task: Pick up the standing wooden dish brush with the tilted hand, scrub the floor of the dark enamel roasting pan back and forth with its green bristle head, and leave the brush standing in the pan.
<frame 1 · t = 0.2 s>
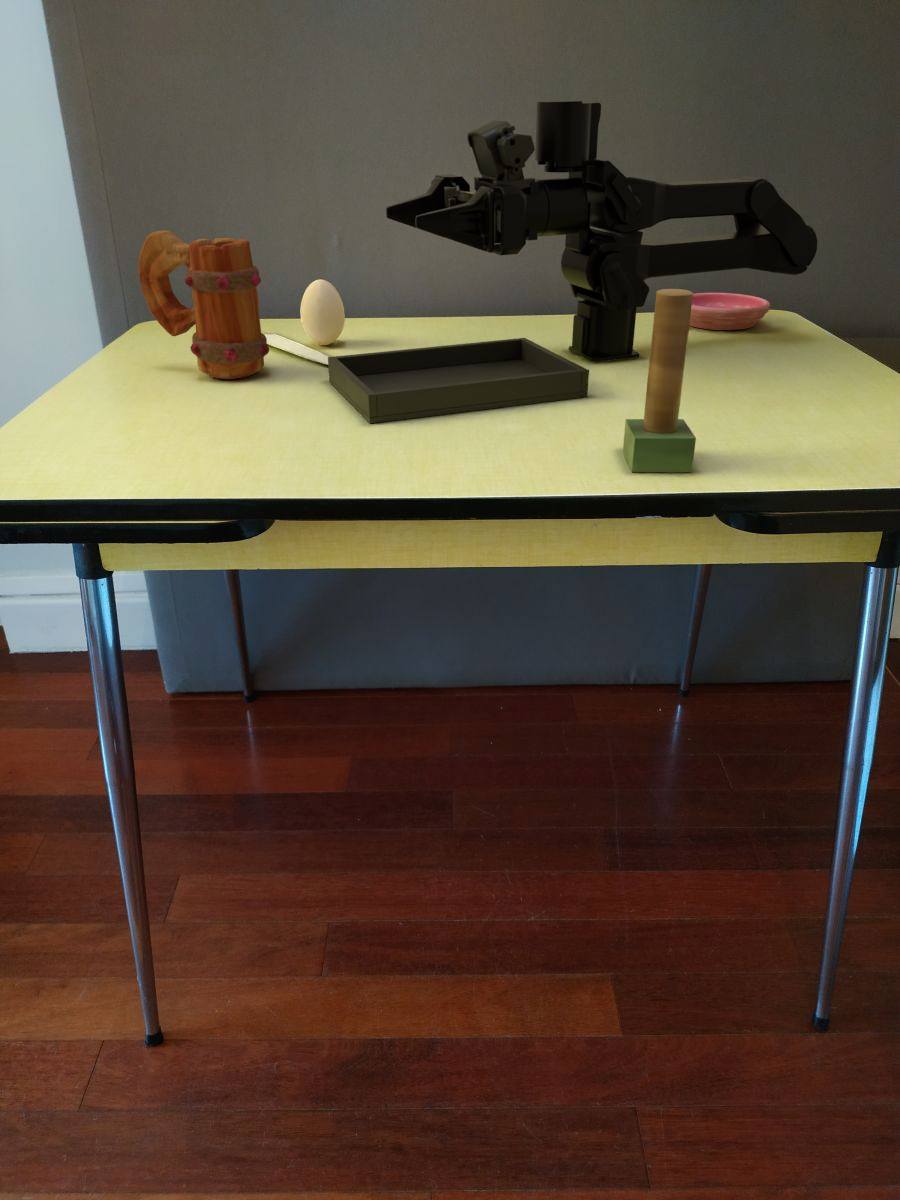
hand: (400, 217, 94), 17 cm above the table, tool horizontal, fingers open, 9 cm apart
pan: (454, 389, 97), on the table
mug: (214, 373, 104), on the table
egg: (324, 346, 115), on the table
knife: (272, 344, 116), on the table
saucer: (718, 325, 124), on the table
dish brush: (656, 462, 78), on the table
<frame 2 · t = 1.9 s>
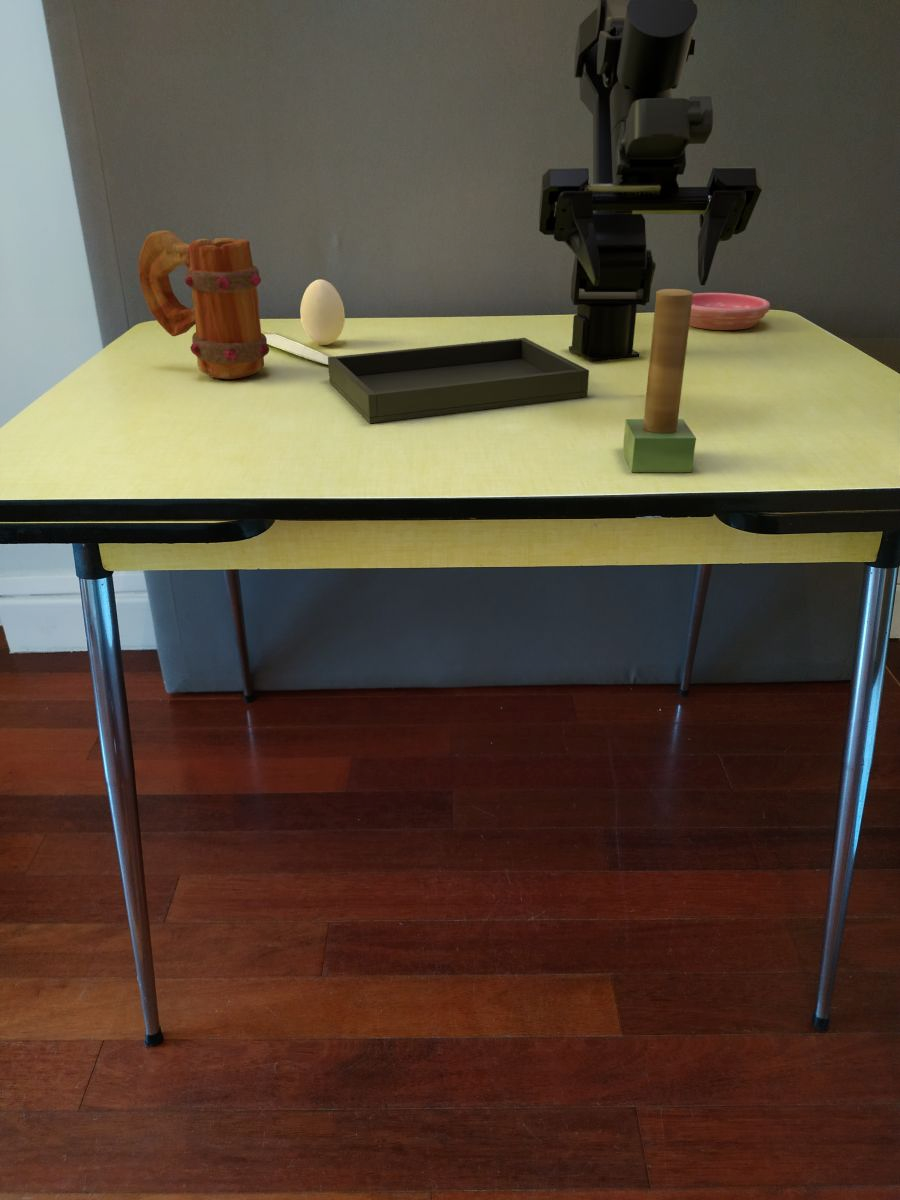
hand: (650, 282, 78), 13 cm above the table, tool tilted 45°, fingers open, 9 cm apart
nothing on the table moved.
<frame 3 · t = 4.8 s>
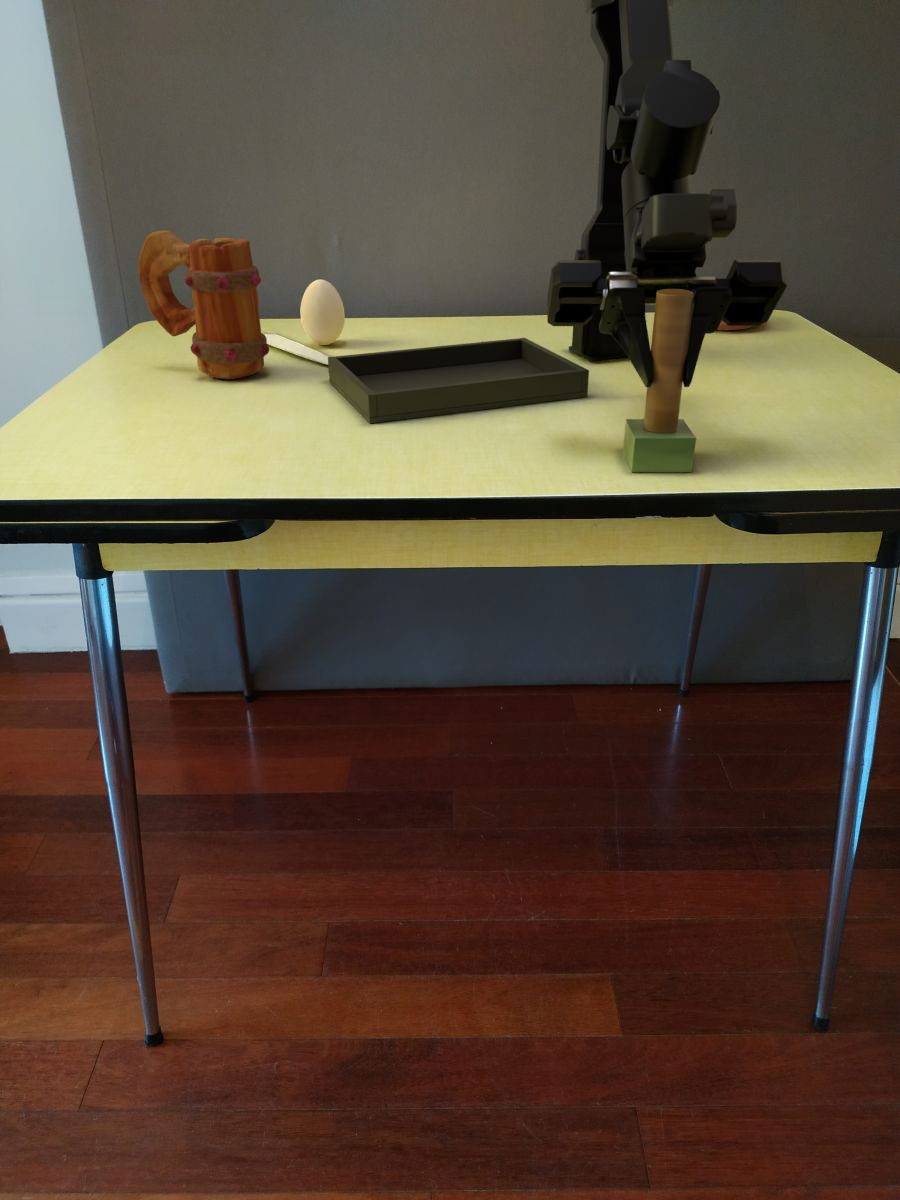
hand: (668, 384, 73), 7 cm above the table, tool tilted 45°, fingers closed on dish brush, 3 cm apart
dish brush: (656, 461, 78), on the table, touching gripper
everything else where it was.
when the fingers open (8 cm above the table, at t = 17.1 s): dish brush stays where it is, resting on pan.
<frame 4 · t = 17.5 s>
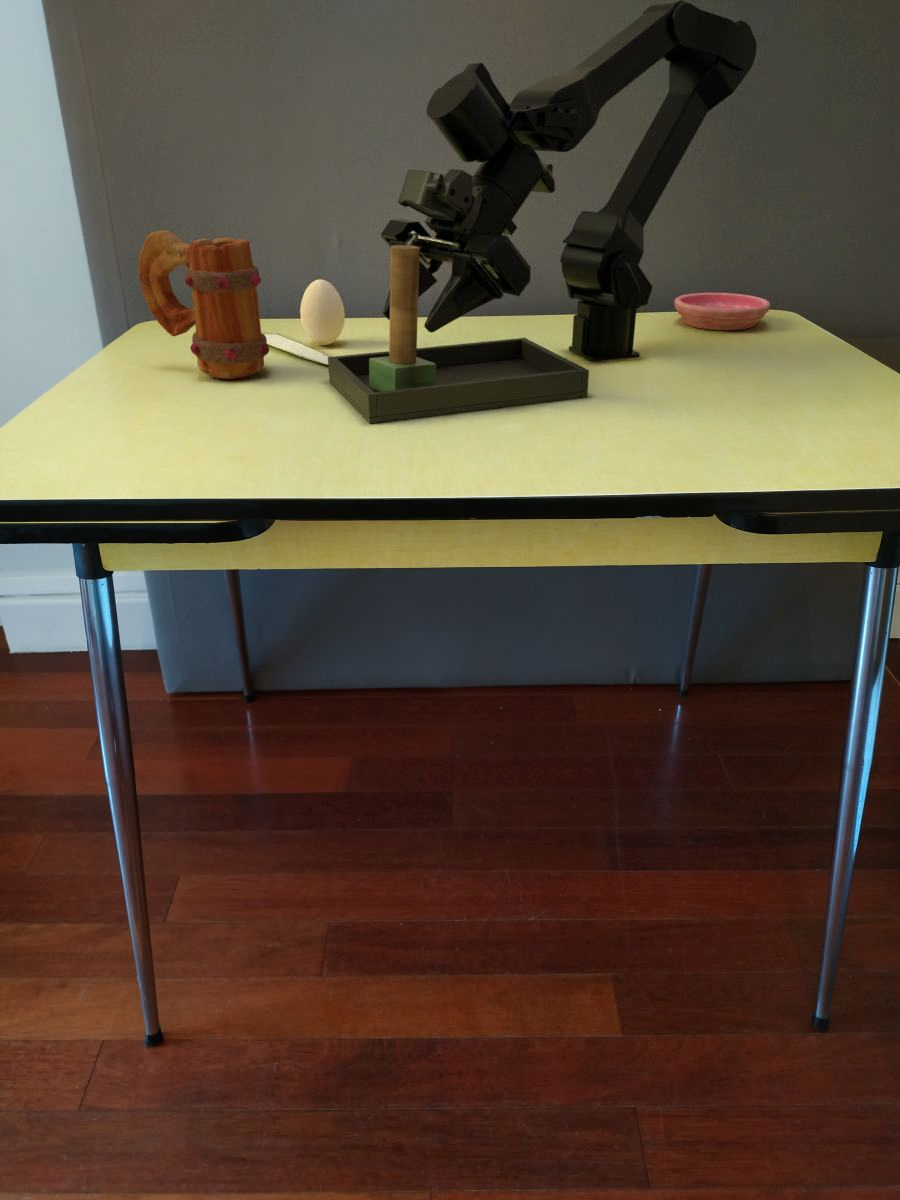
hand: (406, 323, 92), 7 cm above the table, tool tilted 45°, fingers open, 7 cm apart
dish brush: (402, 390, 95), point 1 cm above the table, touching pan
everything else where it was.
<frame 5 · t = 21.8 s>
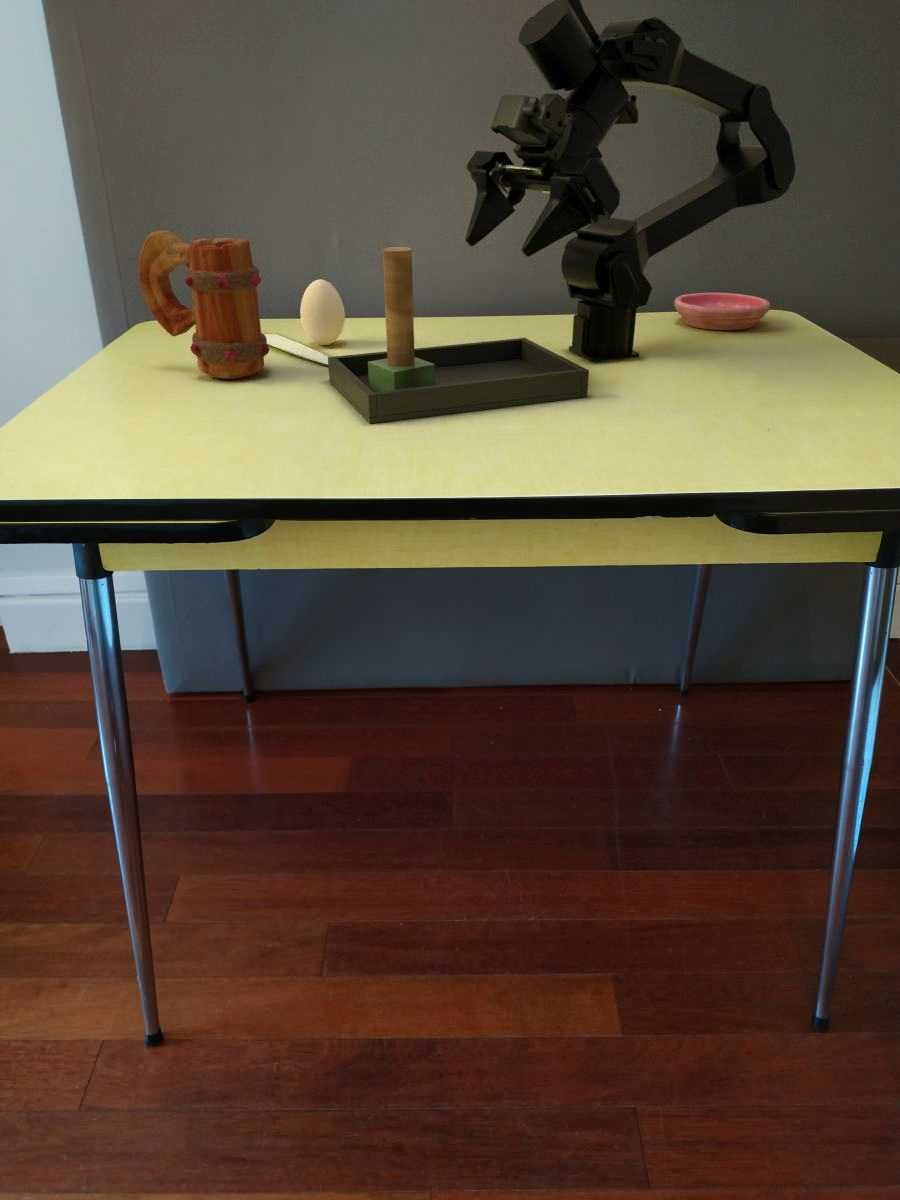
hand: (495, 248, 95), 14 cm above the table, tool tilted 45°, fingers open, 9 cm apart
nothing on the table moved.
at the end: dish brush inside the target area in the pan (6.1 cm from its centre), point 0.6 cm above the pan's base; dish brush moved 30.0 cm from its start; the gripper is holding nothing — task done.
